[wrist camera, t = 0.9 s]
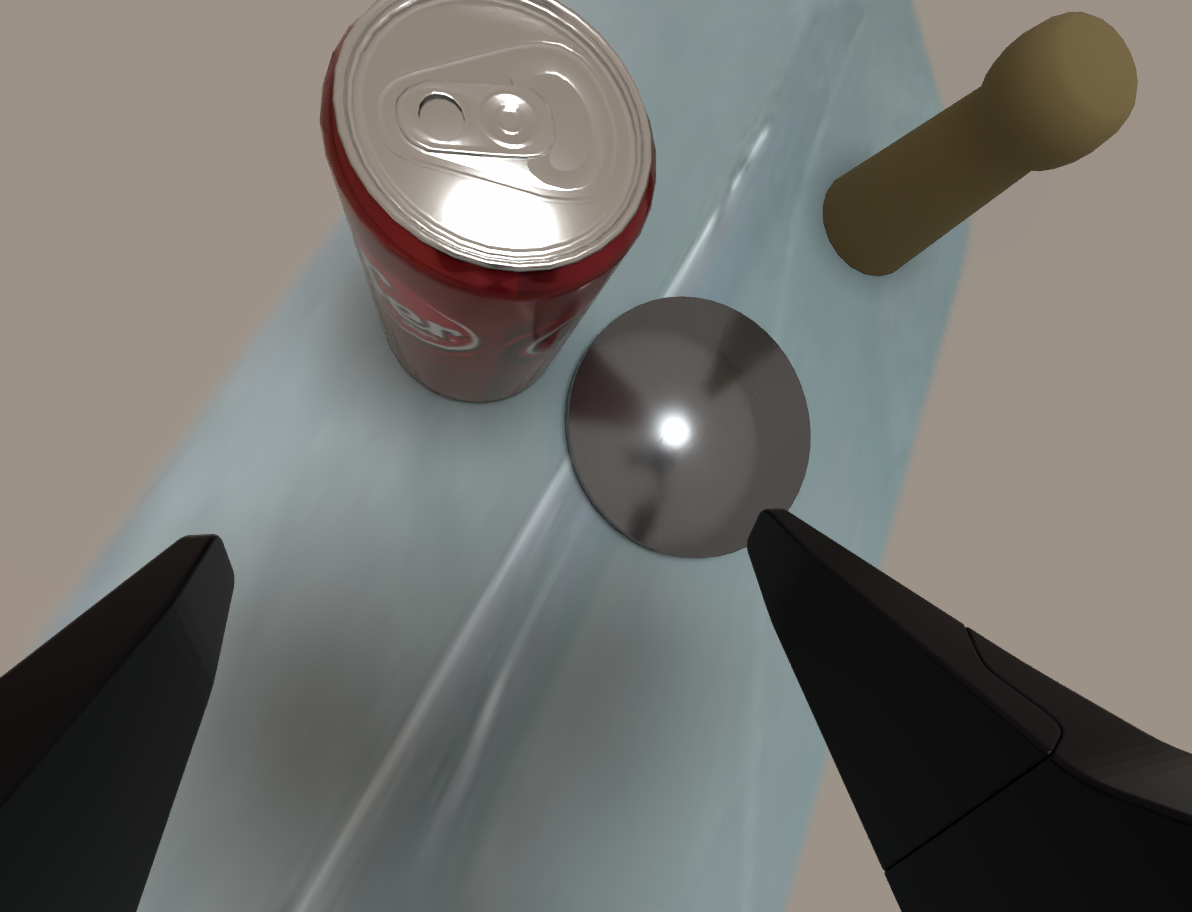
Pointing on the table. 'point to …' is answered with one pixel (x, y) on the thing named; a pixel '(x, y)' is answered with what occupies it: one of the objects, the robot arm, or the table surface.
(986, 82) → the cork
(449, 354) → the soda can
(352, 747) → the table surface
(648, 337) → the flange plate
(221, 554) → the robot arm
